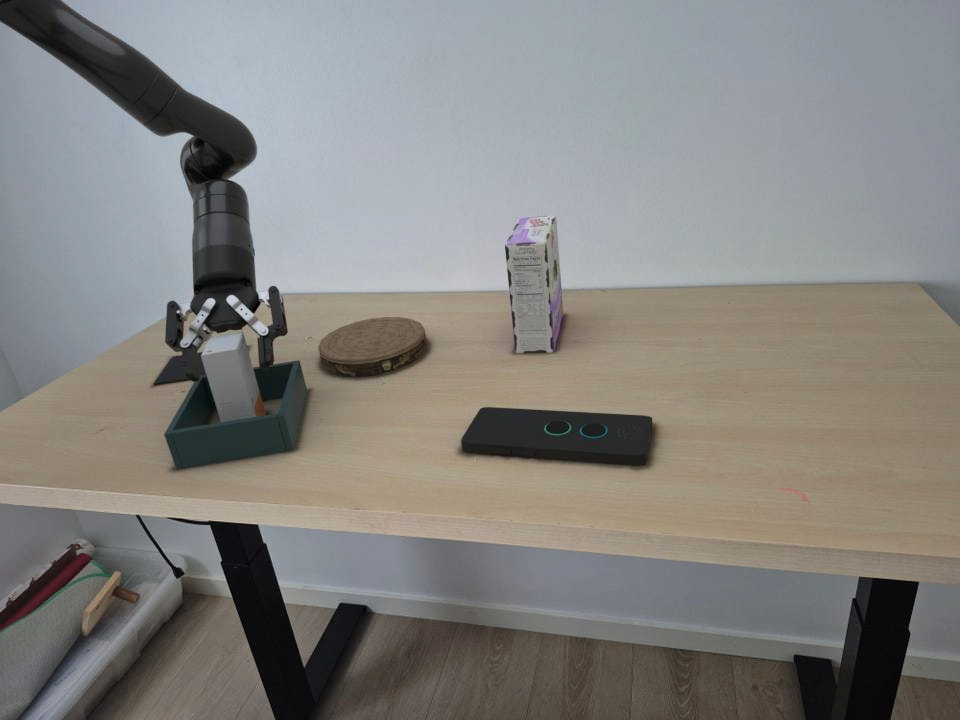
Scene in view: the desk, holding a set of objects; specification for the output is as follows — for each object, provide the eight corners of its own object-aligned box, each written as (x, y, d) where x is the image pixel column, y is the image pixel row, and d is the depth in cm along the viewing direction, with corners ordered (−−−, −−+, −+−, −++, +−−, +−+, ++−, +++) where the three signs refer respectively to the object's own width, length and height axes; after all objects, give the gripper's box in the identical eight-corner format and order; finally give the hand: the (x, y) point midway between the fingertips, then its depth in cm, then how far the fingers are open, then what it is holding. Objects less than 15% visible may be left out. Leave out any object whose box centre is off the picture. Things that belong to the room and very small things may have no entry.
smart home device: (645, 455, 70) (458, 441, 76) (645, 469, 71) (460, 455, 77) (653, 413, 77) (481, 404, 83) (653, 427, 78) (483, 417, 84)
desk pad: (154, 387, 104) (153, 383, 104) (173, 359, 113) (172, 356, 113) (236, 374, 104) (234, 370, 104) (248, 348, 114) (247, 345, 113)
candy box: (527, 318, 111) (518, 216, 104) (564, 317, 110) (557, 213, 103) (514, 355, 99) (502, 242, 92) (555, 354, 98) (546, 240, 91)
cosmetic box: (261, 437, 86) (236, 349, 81) (226, 443, 86) (198, 355, 81) (267, 414, 91) (243, 330, 86) (234, 420, 91) (208, 336, 86)
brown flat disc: (310, 353, 108) (306, 336, 107) (404, 326, 114) (401, 309, 113) (340, 390, 95) (335, 371, 94) (444, 357, 101) (441, 338, 100)
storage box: (176, 471, 81) (163, 434, 79) (208, 408, 95) (197, 375, 93) (294, 452, 82) (284, 415, 80) (307, 392, 96) (299, 360, 94)
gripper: (155, 250, 86) (156, 373, 80) (271, 234, 87) (280, 353, 81) (179, 278, 93) (182, 393, 87) (286, 263, 94) (295, 375, 88)
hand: (229, 374), depth 84 cm, fingers open, 8 cm apart
